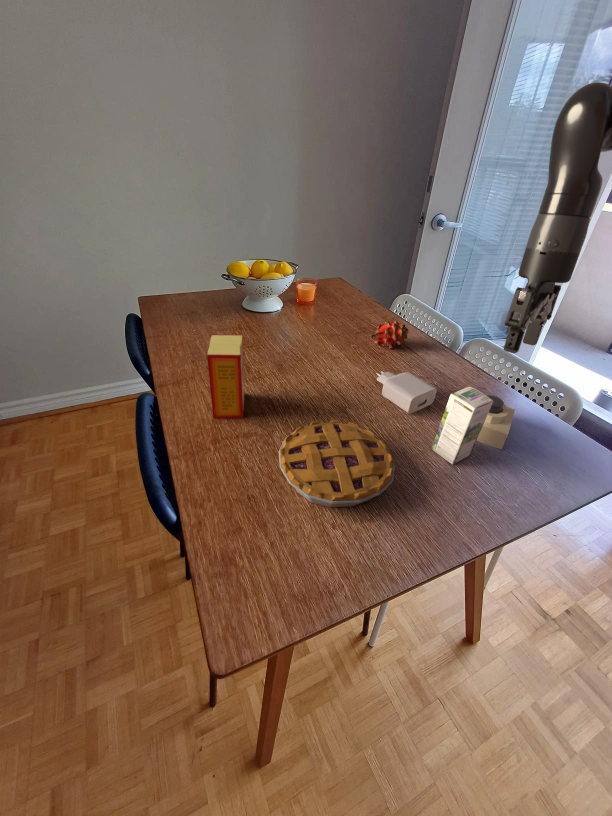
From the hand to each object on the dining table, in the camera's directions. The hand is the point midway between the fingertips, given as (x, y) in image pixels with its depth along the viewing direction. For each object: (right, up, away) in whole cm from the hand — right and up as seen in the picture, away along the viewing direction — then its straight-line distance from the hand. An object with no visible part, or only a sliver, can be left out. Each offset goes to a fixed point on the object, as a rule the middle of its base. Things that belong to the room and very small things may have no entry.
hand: (519, 347), depth 69 cm
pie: (-32, -23, +8) cm, 40 cm away
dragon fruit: (-12, +8, +53) cm, 55 cm away
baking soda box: (-55, -10, +23) cm, 60 cm away
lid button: (+3, -11, +18) cm, 21 cm away
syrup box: (-7, -20, +14) cm, 25 cm away
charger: (-14, -7, +31) cm, 35 cm away
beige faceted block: (+3, -15, +22) cm, 26 cm away
